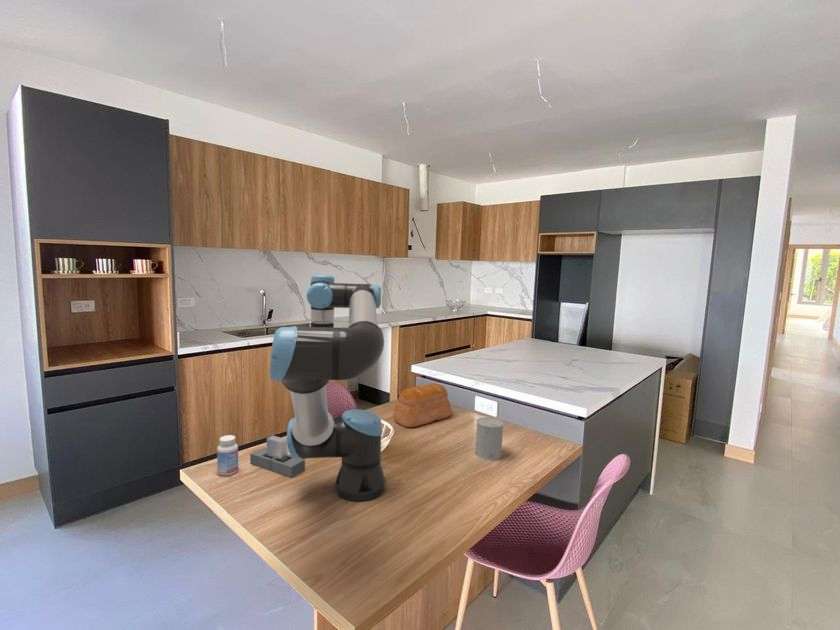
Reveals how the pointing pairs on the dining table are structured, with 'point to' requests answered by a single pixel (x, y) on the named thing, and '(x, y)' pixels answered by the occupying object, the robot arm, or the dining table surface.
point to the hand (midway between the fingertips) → (321, 384)
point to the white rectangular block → (277, 448)
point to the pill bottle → (227, 456)
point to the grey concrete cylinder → (489, 438)
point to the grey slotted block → (277, 463)
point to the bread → (422, 405)
